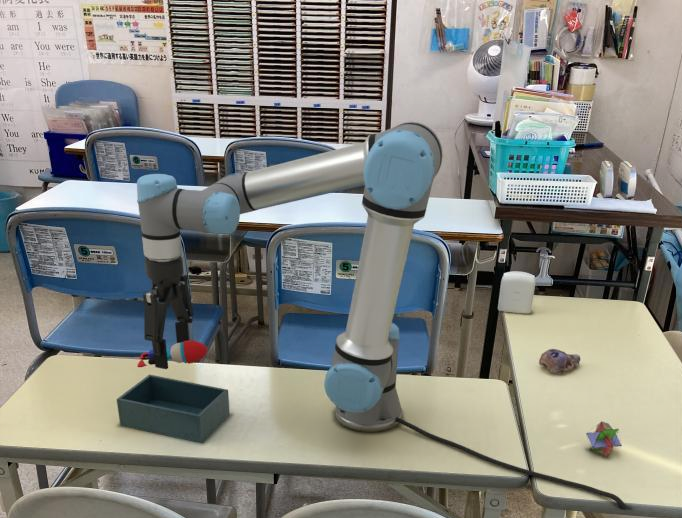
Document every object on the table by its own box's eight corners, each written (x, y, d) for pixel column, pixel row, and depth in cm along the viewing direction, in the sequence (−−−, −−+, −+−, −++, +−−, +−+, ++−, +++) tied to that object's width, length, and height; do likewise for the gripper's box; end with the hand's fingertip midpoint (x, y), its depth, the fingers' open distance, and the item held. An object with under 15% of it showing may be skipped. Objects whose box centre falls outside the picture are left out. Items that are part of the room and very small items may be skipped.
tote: (229, 415, 176) (228, 389, 172) (201, 443, 165) (199, 416, 162) (152, 399, 181) (149, 374, 178) (120, 425, 171) (116, 399, 167)
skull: (572, 358, 207) (577, 338, 203) (587, 373, 201) (592, 354, 197) (532, 364, 204) (536, 345, 200) (546, 380, 198) (551, 360, 194)
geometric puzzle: (629, 454, 162) (625, 417, 162) (600, 457, 160) (595, 420, 161) (612, 458, 169) (607, 422, 169) (583, 460, 168) (579, 424, 168)
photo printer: (496, 311, 236) (502, 272, 229) (497, 306, 239) (503, 268, 233) (530, 315, 234) (537, 276, 227) (531, 310, 238) (537, 271, 231)
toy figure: (138, 376, 164) (207, 365, 163) (132, 354, 162) (201, 344, 161) (145, 363, 171) (211, 353, 170) (139, 342, 168) (206, 332, 168)
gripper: (174, 239, 163) (182, 338, 176) (116, 269, 146) (130, 376, 159) (205, 244, 161) (211, 343, 174) (150, 274, 144) (162, 382, 157)
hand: (173, 359), depth 166 cm, fingers closed on toy figure, 8 cm apart
